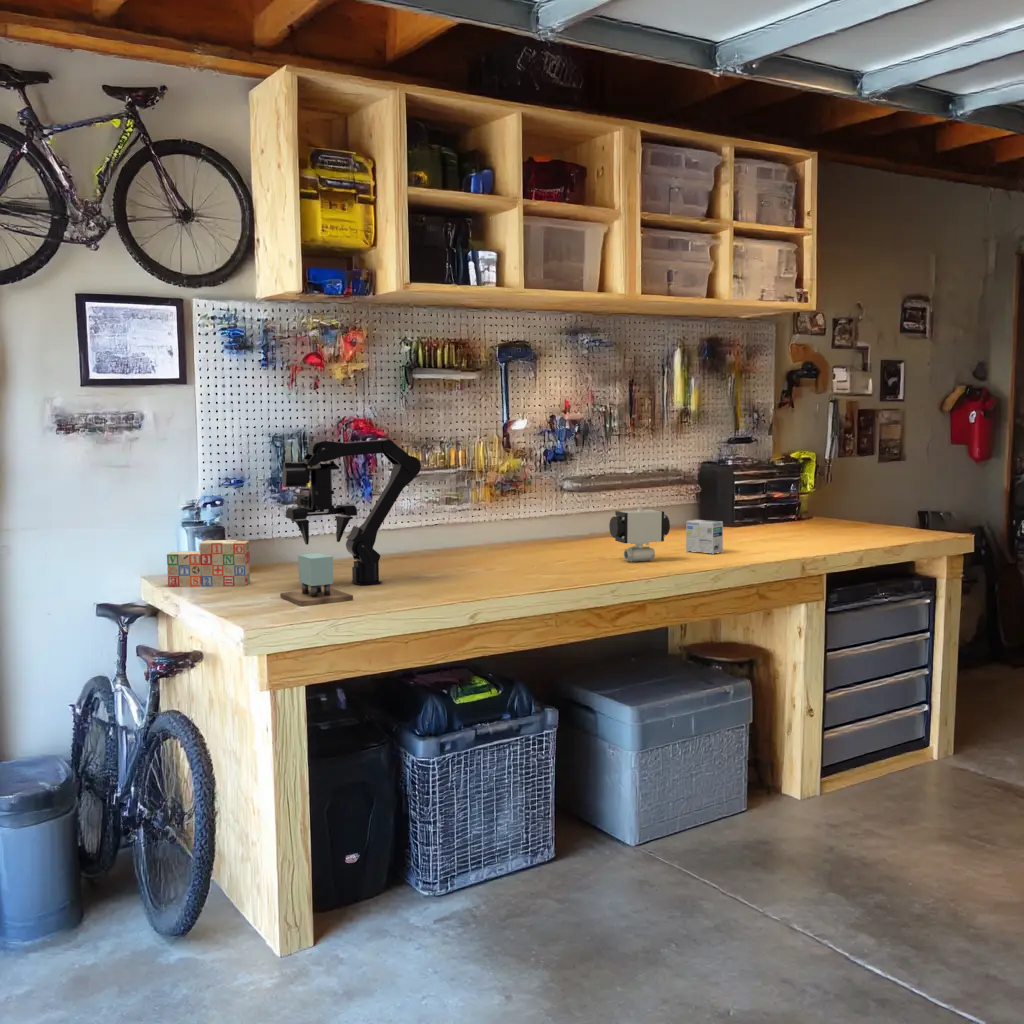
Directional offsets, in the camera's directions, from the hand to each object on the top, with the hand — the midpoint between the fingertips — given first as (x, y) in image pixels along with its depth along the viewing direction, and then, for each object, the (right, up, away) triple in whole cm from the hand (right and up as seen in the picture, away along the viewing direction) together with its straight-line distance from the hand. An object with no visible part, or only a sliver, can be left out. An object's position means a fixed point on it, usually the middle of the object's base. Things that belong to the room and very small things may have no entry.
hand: (322, 543), depth 278 cm
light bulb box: (+117, -5, +64) cm, 133 cm away
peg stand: (+2, -14, -17) cm, 22 cm away
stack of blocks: (-33, -12, +5) cm, 35 cm away
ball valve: (+92, -7, +45) cm, 103 cm away
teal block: (+1, -10, -17) cm, 20 cm away
